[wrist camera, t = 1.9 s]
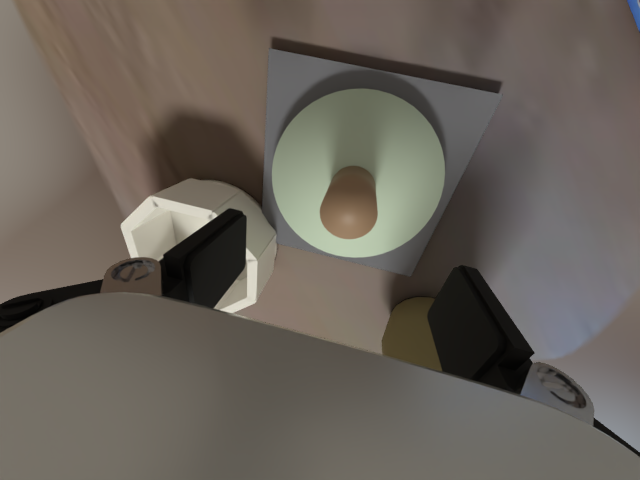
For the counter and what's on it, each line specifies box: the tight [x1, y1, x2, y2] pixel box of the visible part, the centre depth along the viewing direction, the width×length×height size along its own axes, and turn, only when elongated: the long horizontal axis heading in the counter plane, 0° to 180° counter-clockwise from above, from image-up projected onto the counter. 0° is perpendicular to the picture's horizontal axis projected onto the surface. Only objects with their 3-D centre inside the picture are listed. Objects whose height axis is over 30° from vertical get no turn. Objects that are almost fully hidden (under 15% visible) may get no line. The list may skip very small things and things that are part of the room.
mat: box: [262, 48, 503, 277], centre depth 18 cm, size 14×14×1 cm
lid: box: [272, 88, 445, 258], centre depth 15 cm, size 12×12×5 cm
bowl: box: [121, 178, 278, 313], centre depth 21 cm, size 11×11×5 cm
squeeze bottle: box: [382, 297, 443, 372], centre depth 16 cm, size 8×8×18 cm
